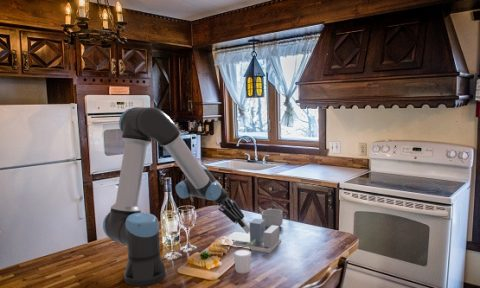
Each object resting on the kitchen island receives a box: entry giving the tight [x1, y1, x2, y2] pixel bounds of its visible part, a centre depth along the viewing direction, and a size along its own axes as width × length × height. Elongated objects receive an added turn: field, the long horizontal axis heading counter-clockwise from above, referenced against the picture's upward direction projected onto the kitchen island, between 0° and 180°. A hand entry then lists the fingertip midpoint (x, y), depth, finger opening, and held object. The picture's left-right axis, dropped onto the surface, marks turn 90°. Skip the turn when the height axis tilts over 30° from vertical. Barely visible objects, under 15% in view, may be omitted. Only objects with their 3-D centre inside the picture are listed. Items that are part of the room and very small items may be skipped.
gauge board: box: [227, 225, 282, 254], centre depth 169 cm, size 24×14×8 cm, turn 64°
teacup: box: [261, 208, 284, 229], centre depth 192 cm, size 14×11×8 cm
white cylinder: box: [233, 248, 252, 274], centre depth 143 cm, size 7×7×7 cm
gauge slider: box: [249, 218, 266, 245], centre depth 166 cm, size 5×10×9 cm, turn 154°
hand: (249, 231), depth 169 cm, fingers closed
